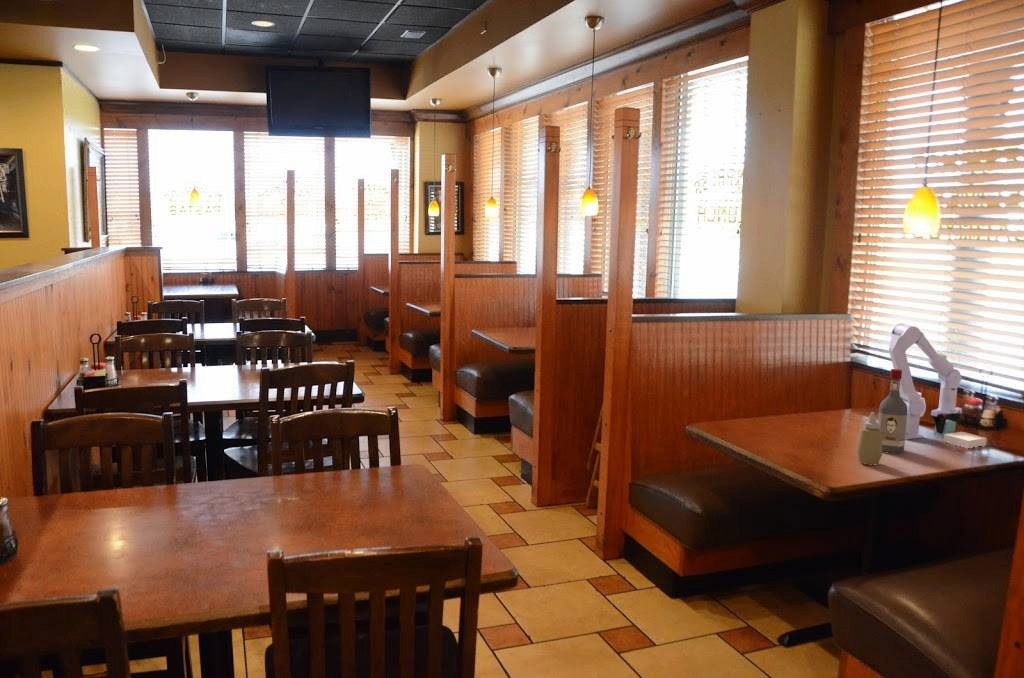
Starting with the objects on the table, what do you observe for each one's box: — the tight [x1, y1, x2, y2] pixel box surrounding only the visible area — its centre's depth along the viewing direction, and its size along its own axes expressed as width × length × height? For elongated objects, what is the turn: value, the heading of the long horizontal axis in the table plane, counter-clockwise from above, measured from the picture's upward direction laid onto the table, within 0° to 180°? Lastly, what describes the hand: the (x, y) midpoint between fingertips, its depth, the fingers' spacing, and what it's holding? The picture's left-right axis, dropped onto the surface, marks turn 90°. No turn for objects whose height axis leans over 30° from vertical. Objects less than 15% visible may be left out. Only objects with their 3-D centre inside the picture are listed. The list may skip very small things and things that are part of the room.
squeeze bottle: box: [856, 411, 883, 466], centre depth 276 cm, size 8×8×18 cm
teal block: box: [933, 420, 957, 438], centre depth 314 cm, size 5×5×6 cm
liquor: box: [877, 368, 907, 455], centre depth 291 cm, size 9×9×30 cm
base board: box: [943, 431, 988, 450], centre depth 303 cm, size 10×10×3 cm
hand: (944, 432), depth 314 cm, fingers closed on teal block, 5 cm apart
